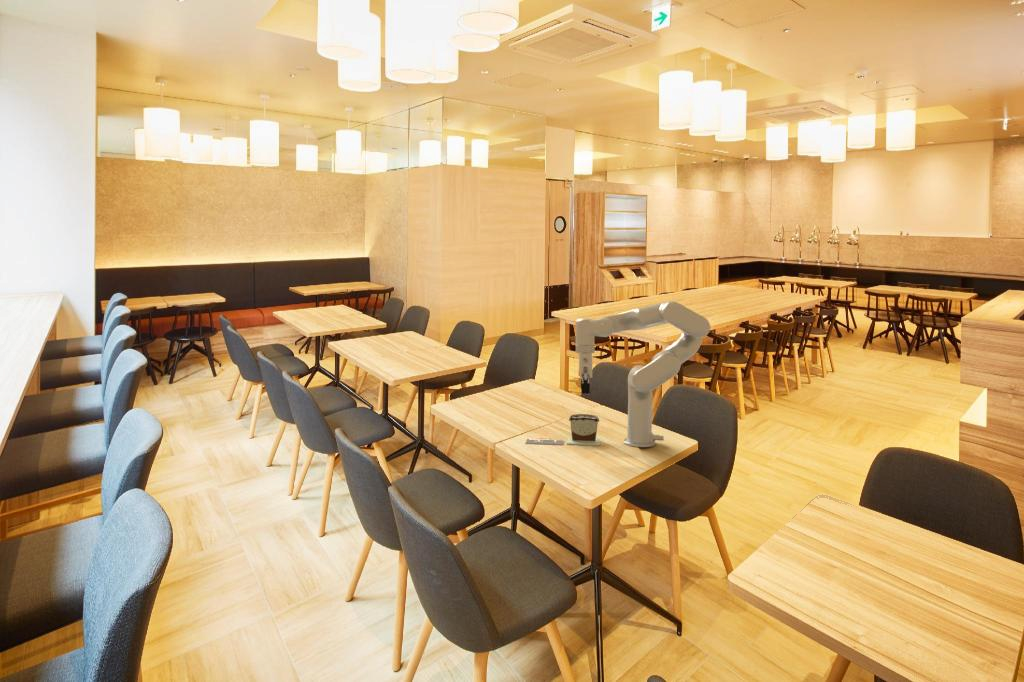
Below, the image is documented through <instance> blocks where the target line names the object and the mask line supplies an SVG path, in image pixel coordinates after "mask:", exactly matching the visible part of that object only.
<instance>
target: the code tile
mask: <svg viewBox="0 0 1024 682" xmlns="http://www.w3.org/2000/svg"><path fill="white" fill-rule="evenodd" d="M540 439H541V438H538V440H529V439H527V438H526V440H525V445H550V446H551V445H552V446H553V445H554V446H563V445H564V440H557V439H554V438H548V439H549V440H540Z"/></svg>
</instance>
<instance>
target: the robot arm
mask: <svg viewBox="0 0 1024 682" xmlns="http://www.w3.org/2000/svg"><path fill="white" fill-rule="evenodd" d="M667 324H670V325H672V326H673V327H675V328H677V329H678V330H680V331H682V333H681V335H680V337H679V338H678V339H677V340H675V341H674V342H673V343H671V344H670V345H669V346H667V347H665V348H663V349H662V350H660V351H659V352H657V353H656V354H655V355H654V356H652V359H651V361H650V362H649V363H648V364H645V365H636V366H634V367H632V368H631V369H630V371H629V373H628V376H627V390H628V391H627V392H628V394H627V395H628V396H627V397H628V399H627V402H628V404H627V433H626V435H627V437H625V438H624V439H623V440H622V441H623V442H622V443H623V444H624V445H627V446H629V447H634V448H635V447H636V448H651V447H654V446H655V445H656V441H659V442H660V441H661V442H663V441H664V435H660V434H654V433H653V432H652V429H653V427H652V425H653V423H652V422H653V402H654V401H653V391H654V390H656V389H657V388H659V387H660V386H662V385H664V384H666V382H668V381H670V380H671V379H673V378H674V377H675V376H676V375H677V374H678V373H679V372H680V369H681V366H682V364H683V363H685V362H686V361H688V360H689V359H690V358H692V357H693V356H694V355H695V354H697V352H698V351H699V350H700V347H701V346H702V342H703V338H705V337H706V336H708V334H709V333H710V331H711V323H710V321H709V320H708V319H707V318H706V317H705V316H703V315H701V314H700V313H697V312H695V311H694V310H691V309H690V308H689V307H686V306H684V305H683V304H681V303H679V302H677V301H664V302H660V303H654V304H651V305H648V306H646V305H645V306H643V307H639V308H635V309H631V310H628V311H624V312H620V313H615V314H612V315H607V316H602V317H599V318H596V319H595V318H594V319H593V318H577V319H576V320H575V354H578V371H579V377H580V390H581V391H580V392H581V394H590V393H591V392H590V391H591V390H590V389H591V388H590V387H591V386H590V384H591V383H590V379H592V378H593V354H595V337H600V338H601V337H602V338H607V337H610V336H612V335H613V334H616V333H621V332H626V331H639V330H645V329H649V328H653V327H658V326H662V325H667Z"/></svg>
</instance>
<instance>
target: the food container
mask: <svg viewBox="0 0 1024 682" xmlns="http://www.w3.org/2000/svg"><path fill="white" fill-rule="evenodd" d="M568 422H569V423H570V432H571V438H572V441H591V442H595V441H596V439H597V432H598V424H599V423H600V418H599V416H598V415H594V414H588V413H577V414H576V413H575V414H571V415H570V416H569V419H568Z"/></svg>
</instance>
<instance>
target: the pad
mask: <svg viewBox="0 0 1024 682" xmlns="http://www.w3.org/2000/svg"><path fill="white" fill-rule="evenodd" d="M566 445H568V446H569V445H571V446H597V447H598V446H599V447H600V446H601V443H600V439H599V438H596V441H595V442H591V441H572V437H567V439H566Z"/></svg>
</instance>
